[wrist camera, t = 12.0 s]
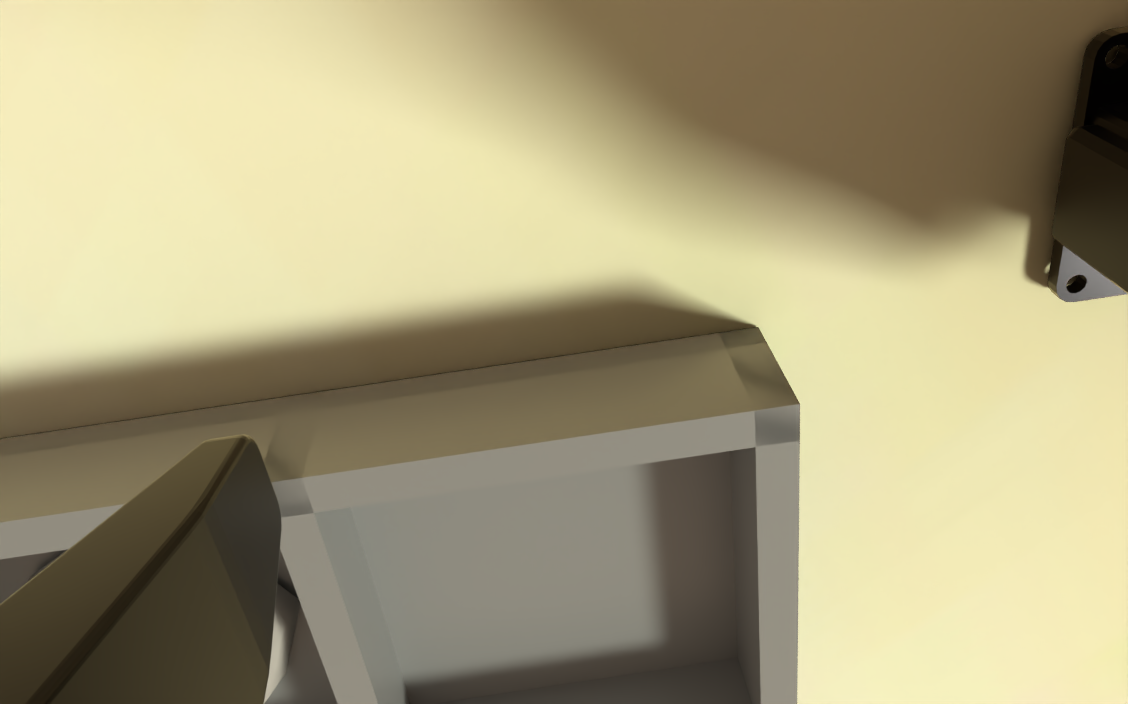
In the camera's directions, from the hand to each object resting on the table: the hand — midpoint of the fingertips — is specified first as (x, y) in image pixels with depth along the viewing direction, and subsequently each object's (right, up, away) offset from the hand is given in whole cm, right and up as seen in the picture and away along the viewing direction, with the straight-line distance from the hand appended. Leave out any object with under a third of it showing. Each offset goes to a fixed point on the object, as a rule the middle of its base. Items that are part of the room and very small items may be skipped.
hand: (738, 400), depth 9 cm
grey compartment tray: (-7, -6, +18) cm, 20 cm away
